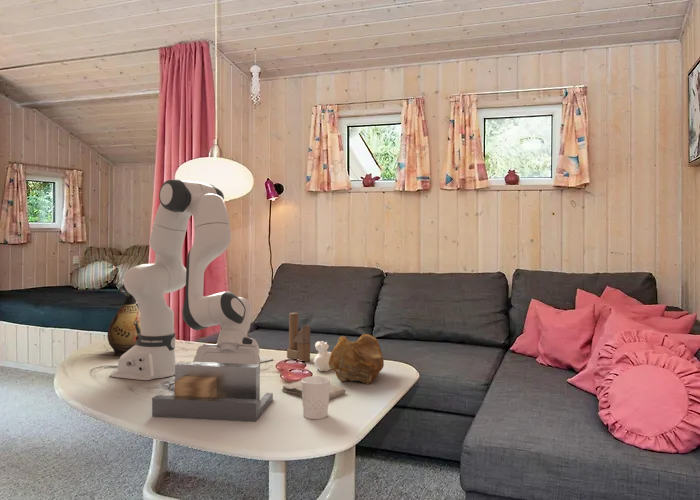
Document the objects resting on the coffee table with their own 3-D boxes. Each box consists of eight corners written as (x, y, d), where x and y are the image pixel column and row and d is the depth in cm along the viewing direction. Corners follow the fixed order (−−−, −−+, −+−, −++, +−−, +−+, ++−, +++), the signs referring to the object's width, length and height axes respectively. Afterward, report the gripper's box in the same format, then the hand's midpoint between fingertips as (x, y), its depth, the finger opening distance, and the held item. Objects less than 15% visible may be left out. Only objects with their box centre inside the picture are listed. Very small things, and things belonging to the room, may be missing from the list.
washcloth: (303, 384, 183) (303, 375, 183) (347, 395, 173) (347, 385, 173) (279, 393, 174) (279, 383, 174) (323, 404, 163) (324, 394, 163)
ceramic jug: (139, 358, 215) (139, 282, 214) (100, 357, 215) (100, 281, 214) (155, 348, 232) (155, 278, 231) (119, 348, 232) (119, 277, 231)
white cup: (301, 410, 156) (301, 376, 156) (328, 410, 157) (329, 375, 156) (301, 420, 148) (301, 384, 148) (330, 420, 149) (330, 383, 149)
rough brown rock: (360, 394, 175) (365, 348, 174) (320, 380, 185) (325, 337, 184) (398, 381, 194) (403, 339, 193) (360, 369, 204) (364, 329, 203)
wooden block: (302, 362, 212) (303, 316, 211) (286, 357, 220) (287, 312, 219) (310, 361, 214) (311, 315, 213) (294, 356, 222) (294, 312, 221)
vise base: (152, 416, 150) (152, 398, 150) (180, 395, 169) (180, 379, 169) (255, 421, 147) (256, 403, 147) (272, 399, 166) (272, 383, 166)
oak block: (174, 413, 152) (174, 381, 152) (183, 406, 158) (183, 375, 158) (209, 415, 151) (209, 383, 151) (216, 408, 157) (216, 377, 157)
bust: (332, 371, 208) (317, 345, 211) (345, 361, 205) (330, 335, 208) (314, 378, 198) (298, 351, 201) (328, 368, 194) (312, 340, 198)
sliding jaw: (174, 405, 159) (174, 364, 158) (180, 401, 163) (180, 361, 162) (255, 409, 156) (256, 367, 156) (259, 404, 160) (259, 364, 160)
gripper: (196, 338, 170) (184, 379, 160) (261, 340, 168) (252, 381, 159) (201, 349, 174) (190, 389, 165) (264, 351, 173) (256, 391, 163)
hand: (221, 385), depth 162 cm, fingers closed, pressing on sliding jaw
